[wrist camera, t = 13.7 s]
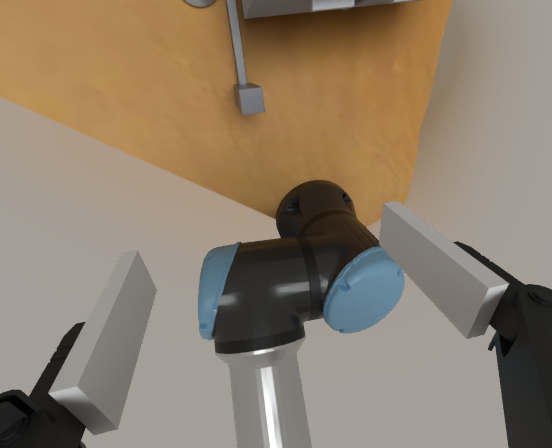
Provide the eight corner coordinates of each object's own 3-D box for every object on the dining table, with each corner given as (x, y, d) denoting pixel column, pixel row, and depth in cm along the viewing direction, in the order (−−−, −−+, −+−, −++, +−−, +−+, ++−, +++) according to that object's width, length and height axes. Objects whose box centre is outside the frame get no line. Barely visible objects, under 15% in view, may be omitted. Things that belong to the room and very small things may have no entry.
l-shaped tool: (253, 101, 39) (264, 112, 29) (236, 103, 39) (242, 115, 29) (230, -73, 30) (235, -147, 20) (208, -72, 30) (202, -146, 20)
